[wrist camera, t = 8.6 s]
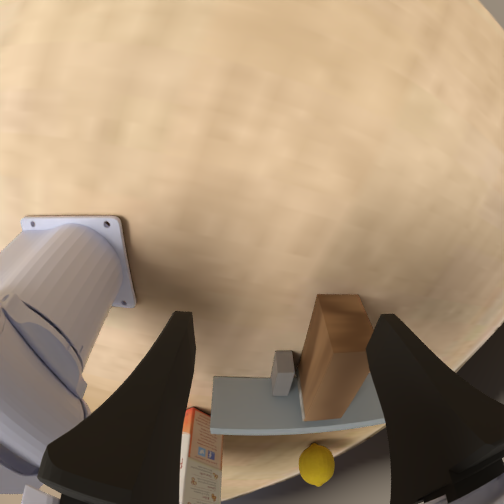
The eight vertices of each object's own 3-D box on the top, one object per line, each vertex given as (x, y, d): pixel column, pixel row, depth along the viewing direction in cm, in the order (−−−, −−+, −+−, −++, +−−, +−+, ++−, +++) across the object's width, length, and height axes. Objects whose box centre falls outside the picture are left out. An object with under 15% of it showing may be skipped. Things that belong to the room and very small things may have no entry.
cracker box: (190, 403, 32) (177, 567, 14) (225, 421, 34) (223, 568, 16) (131, 424, 36) (110, 547, 18) (162, 439, 39) (149, 554, 21)
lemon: (290, 448, 41) (294, 490, 34) (307, 436, 38) (312, 482, 31) (319, 449, 42) (325, 489, 35) (337, 437, 39) (344, 480, 32)
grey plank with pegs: (214, 384, 29) (210, 433, 24) (212, 349, 26) (206, 405, 21) (388, 377, 30) (403, 419, 25) (409, 344, 27) (429, 389, 22)
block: (295, 370, 28) (302, 422, 23) (315, 293, 23) (332, 353, 18) (330, 368, 28) (341, 418, 23) (359, 294, 23) (382, 349, 18)
